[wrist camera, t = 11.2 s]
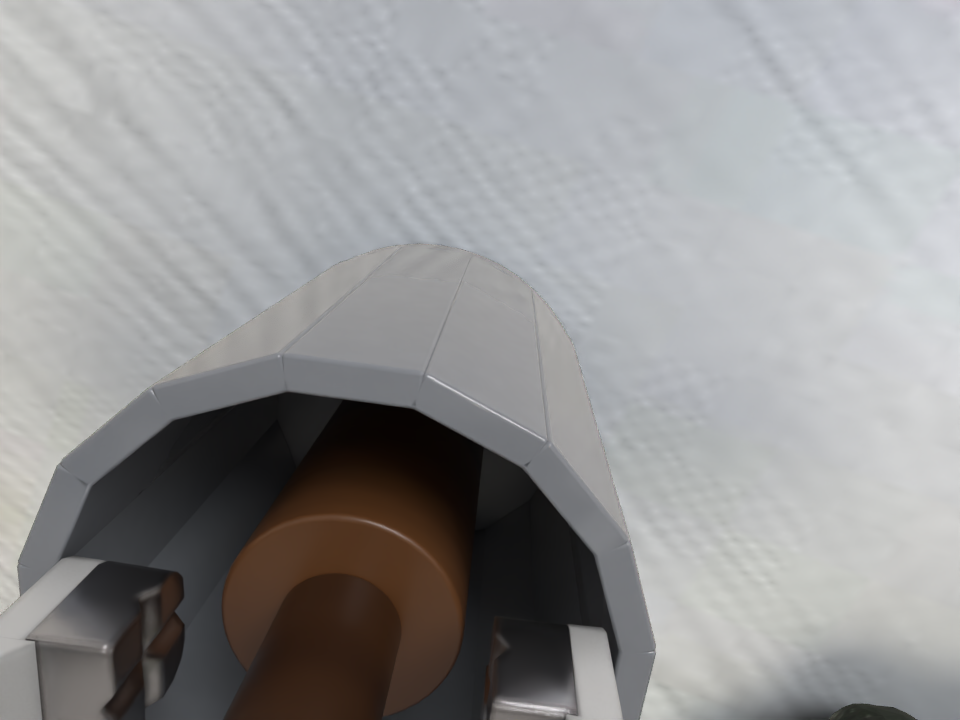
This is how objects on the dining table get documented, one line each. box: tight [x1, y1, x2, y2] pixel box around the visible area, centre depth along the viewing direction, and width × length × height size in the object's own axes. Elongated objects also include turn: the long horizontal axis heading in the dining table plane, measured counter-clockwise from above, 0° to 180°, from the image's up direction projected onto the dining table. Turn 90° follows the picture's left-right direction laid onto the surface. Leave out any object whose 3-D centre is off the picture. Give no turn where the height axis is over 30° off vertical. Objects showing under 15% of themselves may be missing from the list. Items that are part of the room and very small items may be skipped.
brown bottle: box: [222, 399, 484, 720], centre depth 12 cm, size 4×4×12 cm
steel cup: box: [17, 244, 656, 720], centre depth 14 cm, size 9×9×10 cm
